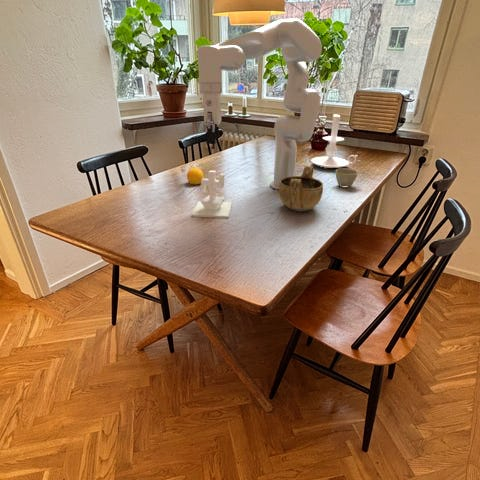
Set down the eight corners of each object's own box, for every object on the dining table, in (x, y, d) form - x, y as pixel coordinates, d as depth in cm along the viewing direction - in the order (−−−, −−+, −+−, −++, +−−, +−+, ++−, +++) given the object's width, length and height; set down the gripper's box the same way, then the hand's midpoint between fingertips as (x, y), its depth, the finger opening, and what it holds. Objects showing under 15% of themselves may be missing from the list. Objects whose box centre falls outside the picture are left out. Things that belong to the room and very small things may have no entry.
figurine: (206, 203, 133) (205, 166, 125) (227, 206, 130) (227, 169, 122) (198, 209, 127) (196, 172, 120) (220, 213, 124) (219, 175, 116)
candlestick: (348, 176, 168) (358, 119, 155) (304, 168, 181) (310, 114, 167) (360, 167, 183) (370, 114, 170) (319, 160, 195) (325, 110, 182)
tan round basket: (312, 223, 119) (317, 183, 112) (269, 214, 125) (271, 176, 118) (325, 202, 137) (330, 167, 129) (286, 195, 143) (289, 161, 136)
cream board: (232, 203, 134) (232, 201, 134) (228, 218, 122) (228, 216, 122) (198, 202, 135) (198, 200, 135) (191, 216, 123) (191, 214, 123)
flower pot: (356, 184, 157) (359, 169, 153) (353, 190, 149) (356, 175, 146) (335, 181, 161) (337, 167, 157) (331, 187, 153) (333, 172, 149)
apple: (201, 186, 152) (200, 171, 149) (185, 185, 154) (183, 169, 150) (205, 181, 159) (205, 166, 156) (190, 180, 161) (189, 165, 157)
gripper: (218, 90, 101) (220, 146, 109) (224, 86, 116) (225, 135, 124) (194, 90, 101) (198, 146, 110) (204, 86, 117) (206, 135, 125)
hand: (213, 140), depth 117 cm, fingers open, 9 cm apart
